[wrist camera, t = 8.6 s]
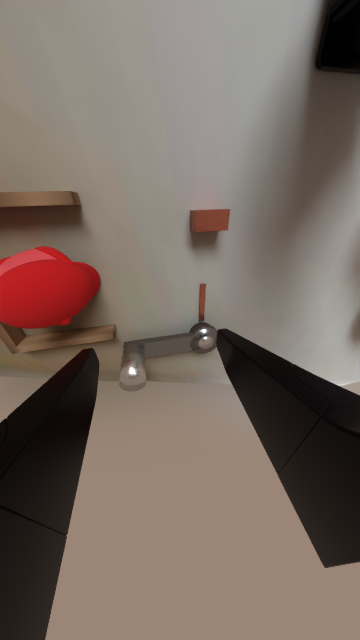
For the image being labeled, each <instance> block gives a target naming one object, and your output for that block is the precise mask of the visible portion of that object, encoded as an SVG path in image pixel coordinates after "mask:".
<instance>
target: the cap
mask: <svg viewBox="0 0 360 640" xmlns="http://www.w3.org/2000/svg"><path fill="white" fill-rule="evenodd" d="M99 287H100V277H99V274H98V272H97V271H96V270H95V269H94V268H93V267H91V266H90V265H88V264H85V263H80V262H72V261H71V260H70V259H69V258H68V257H66V256H65V255H64V254H63V253H61V252H60V251H58V250H56V249H54V248H51V247H38V248H35V249H31V250H27V251H24V252H21V253H18V254H16V255H14V256H12V257H8V258H4V259H2V260H0V321H1V322H3V323H5V324H7V325H10V326H13V327H18V328H28V329H33V328H43V327H49V326H53V325H57V326H62V325H68V324H70V322H71V318H72V317H73V316H75V315H76V314H78V313H79V312H80V311H81V310H82V309H83V308H84V307H85V306H86V305H87V303H88V302H89V300H90V299H91V298H92V297H93V296H94V295H95V294H96V293H97V291H98V289H99Z"/></svg>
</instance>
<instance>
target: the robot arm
mask: <svg viewBox="0 0 360 640" xmlns="http://www.w3.org/2000/svg"><path fill="white" fill-rule="evenodd" d="M324 54H325V55H326V59H325V60H324ZM316 67H317V69H318V70H324V71H335V72H346V73H357V74H360V0H330V2H329V6H328V11H327V15H326V20H325V24H324V28H323V32H322V36H321V41H320V45H319V49H318V53H317V58H316ZM216 346H217V349H218V351H219V354H220V357H221V360H222V362H223V365H224V368H225V370H226V373H227V375H228V377H229V379H230V381H231V383H232V385H233V387H234V389H235V391H236V393H237V395H238V397H239V399H240V401H241V403H242V405H243V407H244V409H245V411H246V413H247V415H248V417H249V419H250V421H251V423H252V425H253V427H254V429H255V430H256V433H257V435H258V437H259V439H260V441H261V443H262V445H263V447H264V449H265V451H266V452H267V455H268V457H269V459H270V461H271V462H272V464H273V466H274V468H275V470H276V472H277V474H278V477H279V479H280V480H281V483H282V485H283V487H284V489H285V491H286V492H287V495H288V497H289V499H290V501H291V503H292V504H293V507H294V508H295V510H296V513H297V514H298V516H299V518H300V520H301V522H302V524H303V526H304V528H305V530H306V532H307V534H308V536H309V538H310V540H311V542H312V544H313V546H314V548H315V550H316V552H317V554H318V556H319V558H320V560H321V562H322V563H323V565H324V567H325V568H328V567H334V566H340V565H345V564H350V563H357V562H360V395H357V394H355V393H353V392H351V391H348V390H346V389H344V388H342V387H340V386H338V385H335V384H333V383H331V382H329V381H327V380H325V379H323V378H320V377H318V376H316V375H314V374H312V373H310V372H308V371H306V370H304V369H302V368H300V367H299V366H297V365H295V364H292V363H291V362H289V361H287V360H285V359H283V358H281V357H279V356H278V355H276V354H274V353H272V352H270V351H268V350H266V349H264V348H262V347H260V346H258V345H257V344H255V343H253V342H251V341H249V340H247V339H245V338H243V337H241V336H239V335H238V334H236V333H234V332H232V331H230V330H228V329H219V330H218V331H217V339H216ZM98 375H99V360H98V358H97V355H96V353H95V350H94V349H93V348H88V349H83V350H82V351H81V352H79V353H78V354H77V355H76V356H75V357H74V358H73V359H72V360H70V361H69V362H68V363H67V364H66V365H65V366H64V367H63V368H61V369H60V370H59V371H58V372H57V373H56V374H55V375H54V376H52V377H51V378H50V379H49V380H48V381H47V382H46V383H45V384H43V385H42V386H41V387H40V388H39V389H38V390H37V391H36V392H35V393H33V394H32V395H31V396H30V397H29V398H28V399H27V400H25V401H24V402H23V403H22V404H21V405H20V406H19V407H18V408H16V409H15V410H14V411H13V412H12V413H11V414H10V415H9V416H8V417H7V419H4V420H3V421H2V422H1V423H0V640H45V637H46V633H47V628H48V623H49V619H50V614H51V609H52V604H53V600H54V595H55V590H56V586H57V581H58V576H59V572H60V566H61V562H62V557H63V552H64V548H65V543H66V539H67V536H66V535H67V533H68V528H69V524H70V519H71V514H72V510H73V505H74V500H75V496H76V491H77V486H78V481H79V477H80V472H81V467H82V462H83V458H84V453H85V449H86V444H87V439H88V434H89V429H90V425H91V420H92V415H93V411H94V406H95V401H96V395H97V386H98Z"/></svg>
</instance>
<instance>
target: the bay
mask: <svg viewBox="0 0 360 640" xmlns="http://www.w3.org/2000/svg"><path fill="white" fill-rule="evenodd" d="M63 205H81V203H80V200H79V196H78V193H76V192H72V191H51V192H4V193H0V208H1V207H32V206H63ZM115 335H116V327H115V325H109V326H101V327H93V328H85V329H78V330H70V331H62V332H55V333H47V334H39V335H31V336H26V335H25V334H24V332H23V331H22V329H21V328H18V327H13V326H10V325H7V324H5V323H3V322H1V321H0V338H1V339H2V341H3V342H4V343H5V345H6V346H7V347H8V349H9V350H10V351H11V353H12V354H13V353H20V352H27V351H34V350H41V349H49V348H56V347H63V346H70V345H77V344H84V343H91V342H98V341H105V340H112V339H115Z"/></svg>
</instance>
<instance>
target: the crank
mask: <svg viewBox="0 0 360 640" xmlns="http://www.w3.org/2000/svg"><path fill="white" fill-rule="evenodd" d="M216 339H217V330H216V328H214V327H213V326H210V325H204V326H200V327H198V328H196V329H195V330H194V331H193V332H190V333H183V334H176V335H170V336H163V337H156V338H149V339H142V340H135V341H128V342H124V346H123V347H124V350H123V354H122V363H121V372H120V380H119V385H120V387H121V388H122V389H124V390H127V391H136V390H139V389H141V388H143V387H144V386H145V384H146V365H145V358H150V357H157V356H163V355H169V354H175V353H181V352H188V351H195V352H197V353H207V352H210V351H212V350H214V349H215V348H216V347H217V346H216Z"/></svg>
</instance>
